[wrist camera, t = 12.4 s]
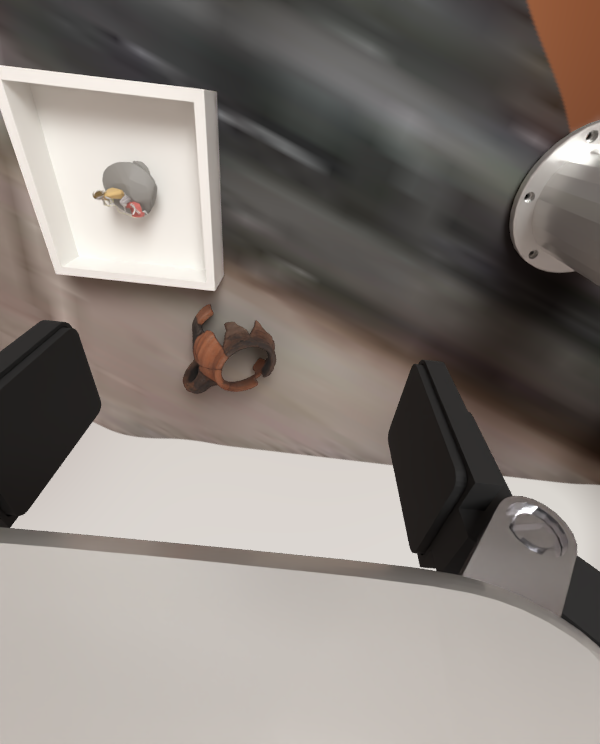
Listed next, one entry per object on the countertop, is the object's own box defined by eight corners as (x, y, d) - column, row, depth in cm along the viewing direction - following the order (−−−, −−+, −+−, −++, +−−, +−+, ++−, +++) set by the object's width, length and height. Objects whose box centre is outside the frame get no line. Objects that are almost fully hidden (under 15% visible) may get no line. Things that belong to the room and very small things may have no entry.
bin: (216, 91, 29) (203, 89, 25) (224, 275, 38) (215, 291, 35) (23, 68, 28) (-15, 63, 25) (78, 259, 38) (56, 274, 34)
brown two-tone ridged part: (217, 279, 39) (243, 321, 34) (271, 316, 46) (299, 356, 41) (153, 354, 42) (168, 404, 37) (213, 378, 49) (233, 423, 44)
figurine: (146, 147, 30) (106, 163, 26) (176, 200, 33) (143, 222, 28) (103, 170, 32) (58, 189, 28) (134, 218, 34) (97, 242, 30)
